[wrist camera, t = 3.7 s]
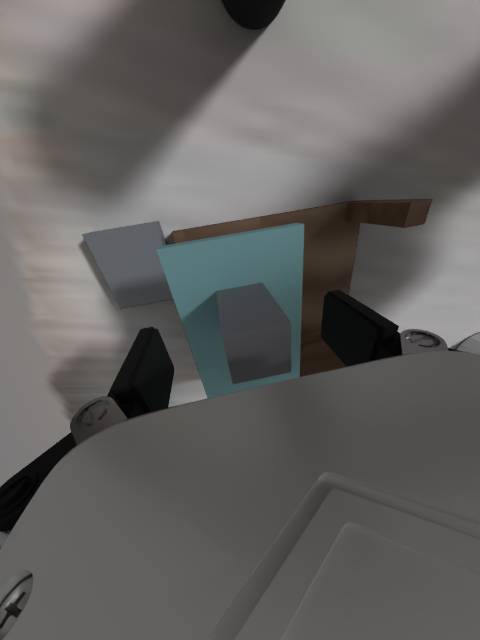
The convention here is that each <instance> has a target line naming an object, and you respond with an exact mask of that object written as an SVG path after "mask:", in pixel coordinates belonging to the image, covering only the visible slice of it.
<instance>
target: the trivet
mask: <svg viewBox="0 0 480 640" xmlns="http://www.w3.org/2000/svg"><path fill="white" fill-rule="evenodd" d="M82 235H83V237H84V239H85V241H86V243H87V245H88V247H89V249H90V251H91V253H92V255H93V257H94V259H95V261H96V262H97V264H98V266H99V268H100V270H101V272H102V274H103V276H104V278H105V280H106V282H107V284H108V286H109V288H110V290H111V291H112V293H113V295H114V297H115V299H116V301H117V303H118V305H119V307H120V309H122V308H127V307H133V306H138V305H143V304H149V303H154V302H159V301H165V300H170V299H173V296H172V294H171V291H170V288H169V285H168V282H167V279H166V276H165V273H164V270H163V268H162V265H161V262H160V259H159V256H158V253H157V250H156V249H157V248H158V247H160V246H164V245H166V242H165V239H164V235H163V232H162V229H161V226H160V223H159V221H156V222H150V223H144V224H138V225H132V226H126V227H120V228H114V229H107V230H101V231H95V232H90V233H86V234H82Z"/></svg>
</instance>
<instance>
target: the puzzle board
mask: <svg viewBox="0 0 480 640" xmlns="http://www.w3.org/2000/svg"><path fill="white" fill-rule="evenodd" d="M431 202H432V199H406V200H362V201H351V202H345V203H339V204H333V205H327V206H321V207H315V208H309V209H303V210H297V211H291V212H285V213H279V214H273V215H267V216H261V217H255V218H249V219H243V220H237V221H231V222H225V223H219V224H213V225H207V226H201V227H195V228H189V229H183V230H177V231H173V232H172V236H173V239H174V243H175V244H176V243H182V242H187V241H193V240H199V239H205V238H211V237H217V236H222V235H228V234H234V233H240V232H246V231H252V230H258V229H263V228H269V227H275V226H281V225H287V224H293V223H301V224H304V249H303V282H302V314H301V346H300V377H303V376H307V375H311V374H316V373H320V372H325V371H329V370H334V369H338V368H343V367H347V366H346V365H345V364H344V363H343V362H342V361H341V360H340V359H339V358H338V356H337V355H336V354H335V353H334V352H333V351H332V350H331V349H330V347H329V346H328V345H327V344H326V343H325V342H324V341H323V339H322V338H321V325H322V314H323V303H324V296H325V295H327V292H329V291H334V290H341V291H342V292H344V293H346V294H347V295H349V289H350V282H351V276H352V270H353V264H354V258H355V252H356V246H357V240H358V234H359V228H360V222H361V223H369V224H378V225H386V226H395V227H403V228H405V227H411V226H416V225H422V224H424V223H425V220H426V217H427V214H428V211H429V208H430V205H431Z"/></svg>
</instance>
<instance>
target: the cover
mask: <svg viewBox="0 0 480 640" xmlns="http://www.w3.org/2000/svg"><path fill="white" fill-rule="evenodd" d="M303 249H304V224H301V223H293V224H287V225H281V226H275V227H269V228H263V229H258V230H252V231H246V232H240V233H234V234H228V235H222V236H217V237H211V238H205V239H199V240H193V241H187V242H182V243H176V244H170V245H164V246H160V247H158V248H157V249H156V250H157V253H158V256H159V259H160V262H161V265H162V268H163V270H164V273H165V276H166V279H167V282H168V285H169V288H170V291H171V294H172V296H173V299H174V302H175V305H176V308H177V311H178V314H179V317H180V320H181V322H182V325H183V328H184V331H185V334H186V337H187V340H188V343H189V345H190V348H191V351H192V354H193V357H194V360H195V363H196V366H197V369H198V371H199V374H200V377H201V380H202V383H203V386H204V389H205V392H206V395H207V397H208V398H212V397H216V396H220V395H225V394H229V393H233V392H237V391H242V390H246V389H250V388H255V387H259V386H263V385H268V384H272V383H276V382H281V381H285V380H289V379H294V378H298V377H300V346H301V314H302V282H303Z"/></svg>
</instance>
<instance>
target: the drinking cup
mask: <svg viewBox="0 0 480 640" xmlns="http://www.w3.org/2000/svg"><path fill="white" fill-rule="evenodd" d="M222 2H223V4H224V6H225V8H226V10H227V11H228V13H229V14H230V16H231V17H232V18H233V19H234V20H235V21H236V22H237V23H238V24H240V25H241V26H243V27H245V28H248V29H260V28H263V27H265V26H267V25H268V24H269V23H271V22H272V21H273V20H274V19H275V17H276V16H277V15H278V13H279V11H280V10H281V8H282V6H283V4H284V2H285V0H222Z"/></svg>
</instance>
